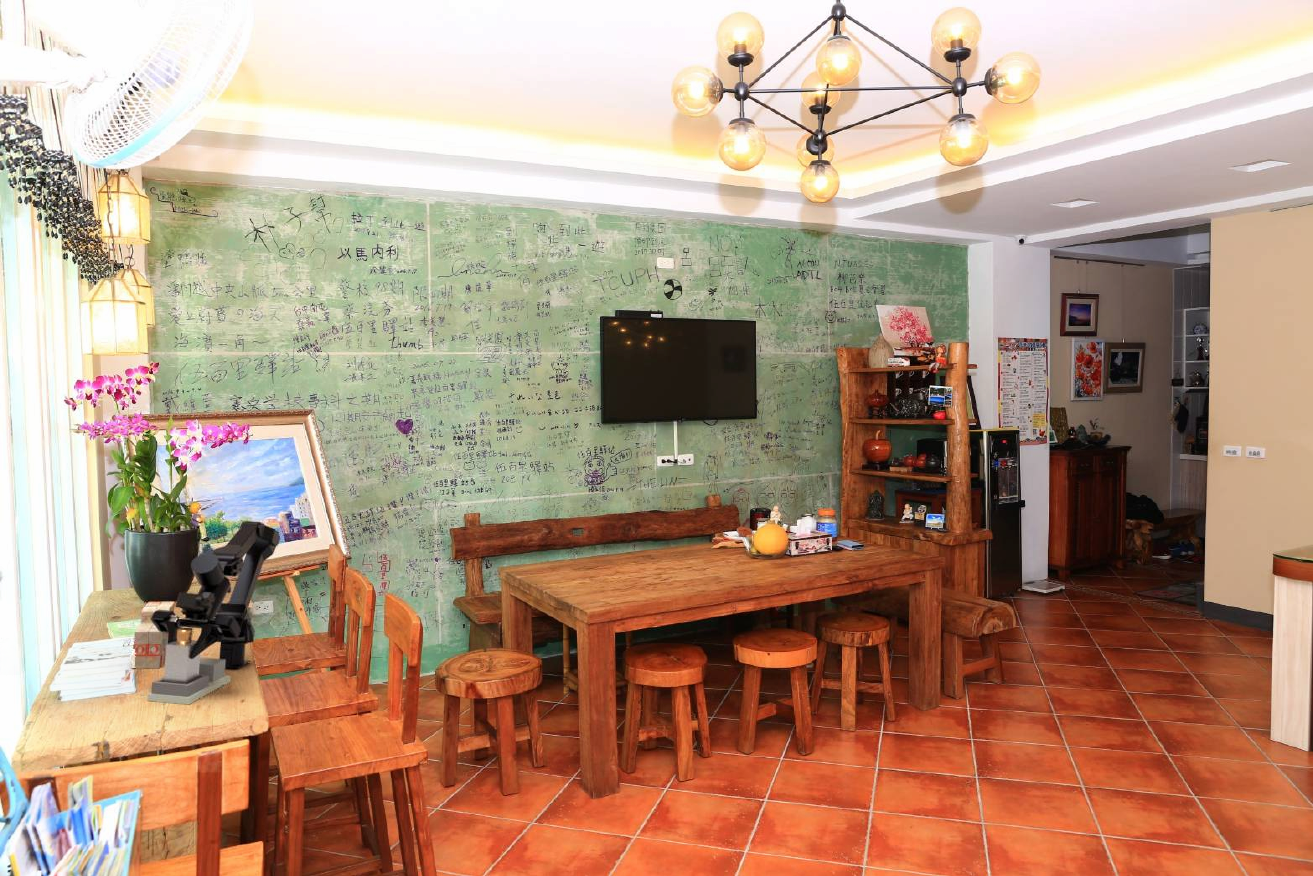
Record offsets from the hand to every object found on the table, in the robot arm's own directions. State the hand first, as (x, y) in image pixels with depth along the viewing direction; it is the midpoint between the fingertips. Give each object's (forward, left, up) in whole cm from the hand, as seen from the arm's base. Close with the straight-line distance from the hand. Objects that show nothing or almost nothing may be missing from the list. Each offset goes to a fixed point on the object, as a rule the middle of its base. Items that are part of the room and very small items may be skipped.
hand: (179, 657), depth 197 cm
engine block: (-1, 0, -7) cm, 7 cm away
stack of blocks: (-28, -23, -10) cm, 38 cm away
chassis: (-5, 0, -9) cm, 11 cm away
